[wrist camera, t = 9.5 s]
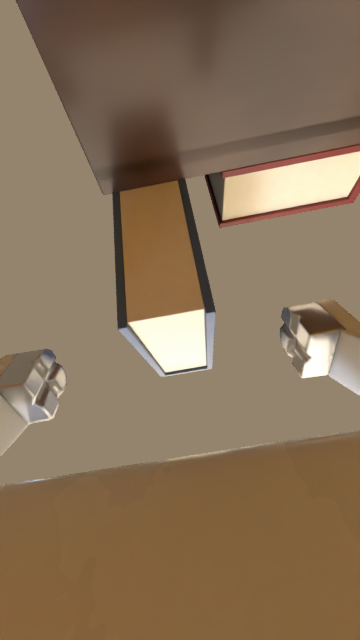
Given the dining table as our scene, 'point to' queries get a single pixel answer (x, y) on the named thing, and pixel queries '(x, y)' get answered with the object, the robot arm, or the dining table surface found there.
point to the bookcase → (200, 82)
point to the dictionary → (285, 186)
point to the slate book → (162, 279)
